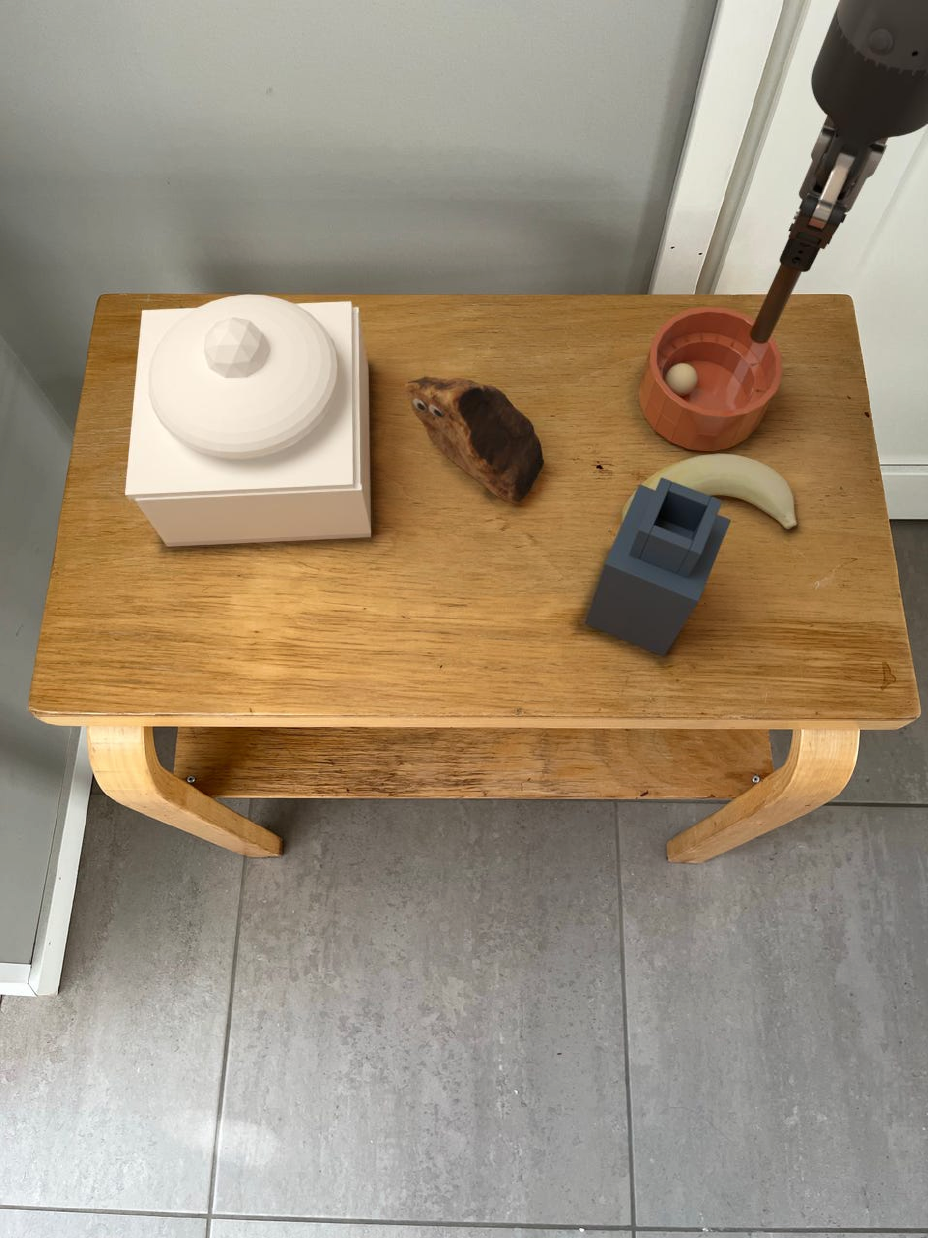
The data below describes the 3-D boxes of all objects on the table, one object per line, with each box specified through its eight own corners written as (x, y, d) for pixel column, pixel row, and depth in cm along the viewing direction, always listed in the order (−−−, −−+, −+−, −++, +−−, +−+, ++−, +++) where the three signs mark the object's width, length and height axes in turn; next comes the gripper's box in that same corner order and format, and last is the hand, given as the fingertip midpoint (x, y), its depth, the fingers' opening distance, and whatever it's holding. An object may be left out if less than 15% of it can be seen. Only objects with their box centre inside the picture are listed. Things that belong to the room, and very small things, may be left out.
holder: (692, 585, 77) (747, 491, 62) (663, 657, 74) (713, 578, 59) (614, 553, 78) (650, 454, 63) (583, 623, 75) (613, 538, 60)
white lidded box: (371, 536, 78) (349, 435, 63) (160, 546, 78) (89, 447, 63) (369, 366, 85) (348, 237, 70) (173, 374, 84) (111, 247, 69)
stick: (772, 331, 73) (839, 192, 60) (766, 346, 73) (832, 209, 59) (753, 324, 73) (815, 184, 60) (746, 339, 73) (808, 201, 60)
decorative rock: (405, 445, 81) (396, 371, 71) (447, 400, 83) (444, 322, 73) (512, 520, 79) (518, 454, 69) (553, 471, 80) (566, 400, 70)
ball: (697, 382, 83) (705, 363, 81) (687, 406, 82) (694, 387, 80) (668, 371, 84) (675, 352, 81) (658, 395, 83) (664, 376, 80)
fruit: (607, 477, 80) (612, 457, 77) (775, 458, 81) (787, 438, 78) (622, 551, 78) (628, 533, 75) (795, 531, 78) (809, 513, 75)
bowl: (777, 375, 84) (799, 333, 78) (738, 472, 80) (759, 435, 75) (662, 334, 86) (676, 289, 80) (619, 427, 82) (631, 387, 77)
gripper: (949, 123, 46) (822, 344, 62) (1010, -46, 50) (876, 202, 66) (804, 78, 47) (716, 307, 63) (876, -83, 51) (777, 170, 67)
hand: (799, 252), depth 64 cm, fingers closed on stick, 1 cm apart
